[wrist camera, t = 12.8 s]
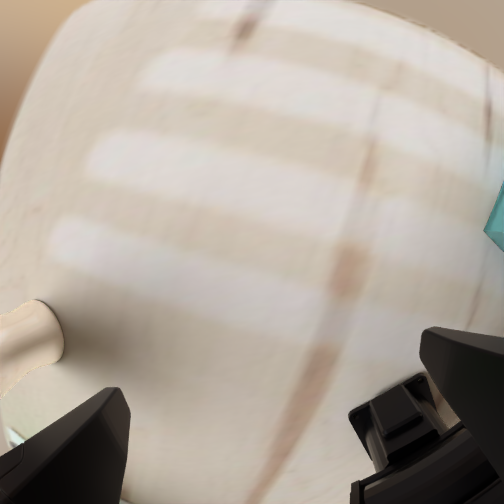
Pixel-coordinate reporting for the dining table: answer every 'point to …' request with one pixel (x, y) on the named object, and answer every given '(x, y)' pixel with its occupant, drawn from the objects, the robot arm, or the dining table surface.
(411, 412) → the robot arm
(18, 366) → the beer glass
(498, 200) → the teal tray
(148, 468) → the dining table surface
